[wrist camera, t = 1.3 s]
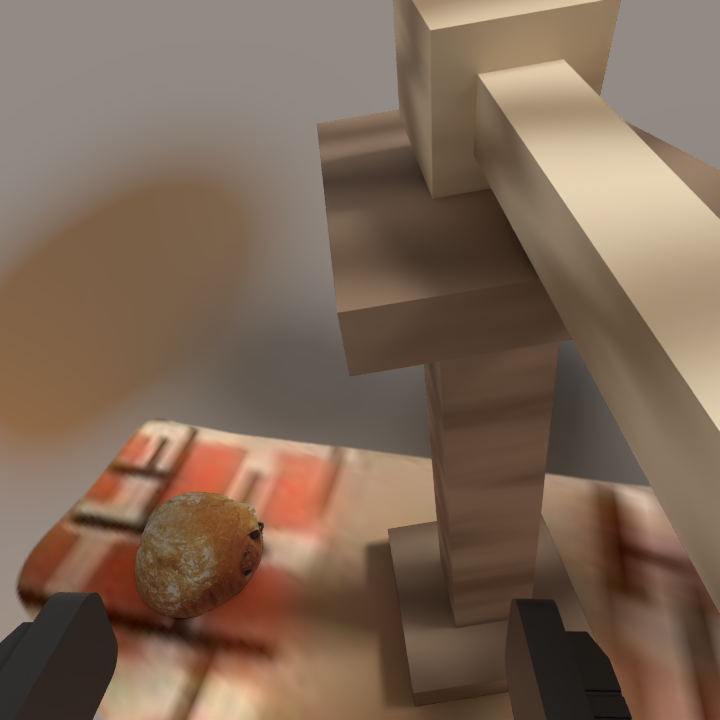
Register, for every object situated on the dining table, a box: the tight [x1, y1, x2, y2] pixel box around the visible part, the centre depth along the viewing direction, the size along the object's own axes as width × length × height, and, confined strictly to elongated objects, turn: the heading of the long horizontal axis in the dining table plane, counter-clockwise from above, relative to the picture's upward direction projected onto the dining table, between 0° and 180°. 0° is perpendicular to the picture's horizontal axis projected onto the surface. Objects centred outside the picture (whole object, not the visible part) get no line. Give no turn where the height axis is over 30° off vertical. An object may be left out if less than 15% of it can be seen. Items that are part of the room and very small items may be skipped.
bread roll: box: [135, 492, 264, 618], centre depth 44 cm, size 10×10×8 cm
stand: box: [317, 110, 720, 706], centre depth 30 cm, size 18×12×32 cm, turn 5°
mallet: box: [393, 0, 720, 614], centre depth 12 cm, size 24×5×5 cm, turn 7°
